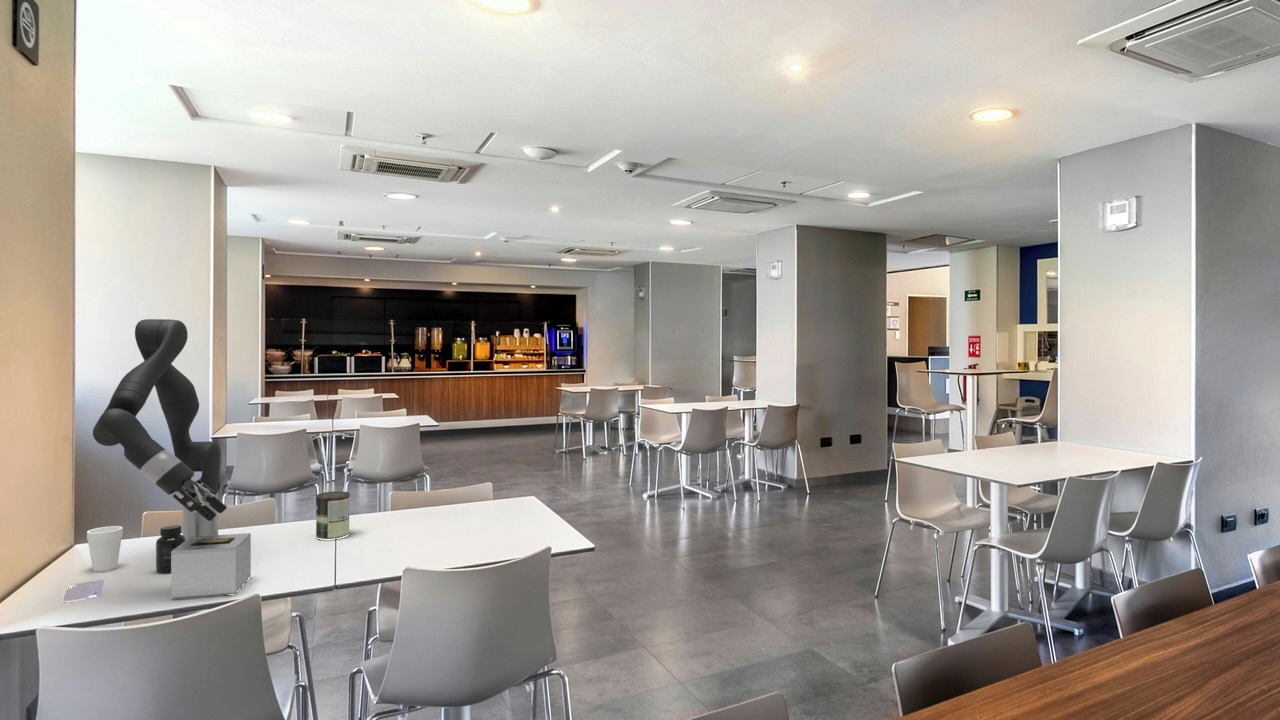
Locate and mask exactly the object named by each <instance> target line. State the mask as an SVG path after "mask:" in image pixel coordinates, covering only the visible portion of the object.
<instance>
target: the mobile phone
mask: <svg viewBox="0 0 1280 720" xmlns="http://www.w3.org/2000/svg"><path fill="white" fill-rule="evenodd" d="M76 584H77V585H74V586H76V587H74V586H73V587H72V589H71V588H70V589H69V587H68V590H67V591H66V590H65V591H66V594H65V593H64V594H65V596H64V595H63V597H64V599H63V598H62V600H63V601H74V600H81V599H88V600H95V599H98V598H101V597H102V595H103V592H104V591H103V590H104V589H103V588H104V584H105V581H104V580H102V579H98V580H90V581H87V582H86V581H85V582H79V583H76ZM94 598H95V599H94Z"/></svg>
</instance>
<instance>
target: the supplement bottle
mask: <svg viewBox="0 0 1280 720" xmlns="http://www.w3.org/2000/svg"><path fill="white" fill-rule="evenodd" d="M159 529H160V530H159V532H160V533H159V536H160V537H159V538H157V539H156V542H155V571H156V572H157V573H158V574H171V551H172V550H174V549H175V548H177V547H178V546H179V545H181V544H182V543H184V542H185V537H184V536H183V534H182V525H167V526H163V527H160V528H159Z"/></svg>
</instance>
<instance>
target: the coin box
mask: <svg viewBox="0 0 1280 720" xmlns="http://www.w3.org/2000/svg"><path fill="white" fill-rule="evenodd" d="M251 535H252V533H251V532H247V533H245V532H244V533H230V534H228V533H227V534H218V535H211V536H195V537H190V538H189V539H188V540H186V541H185V542H184V543H182V544H181V545H179V546H178V547H177V548H175V549H174V550H172V551H171V573H170V581H171V583H170V587H171V588H170V589H171V590H170V593H171V594H170V598H171V599H170V601H177V600H178V601H180V600H190V598H192V599H201V598H203V597H204V598H211V597H210V596H216V597H222V596H221V595H228V596H230V595H229V594H236V593H237V591H238V590H239V589H240V588H241V587H242V585H243V584H244V583H245V582H246V581H247V580H248V578H249V577H250V576H251V577H252V575H251V571H252V569H251V568H252V565H251V564H252V559H251V558H252V556H251V555H252V553H251V552H252V550H251V549H252V545H251V544H252V538H251V537H252V536H251ZM248 581H249V580H248ZM248 581H247V582H248ZM247 582H246V583H247ZM246 583H245V584H246ZM242 588H243V587H242ZM242 588H241V589H242ZM241 589H240V590H241ZM240 590H239V591H240ZM237 594H238V593H237ZM237 594H236V595H237ZM204 598H203V599H204Z"/></svg>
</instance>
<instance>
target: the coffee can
mask: <svg viewBox="0 0 1280 720" xmlns="http://www.w3.org/2000/svg"><path fill="white" fill-rule="evenodd" d="M350 496H351V493H350V492H348V491H343V490H342V491H341V490H340V491H339V490H337V491H328V492H327V491H326V492H322V493H318V494H316V495H315V498H316V499H315V502H316V504H315V507H316V509H315V511H316V514H315V517H316V518H315V522H316V523H315V527H316V528H315V531H316V532H315V538H316V537H317V538H321V539H334V538H340V537H343V536H346V535H348V534H349V535H350Z"/></svg>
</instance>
